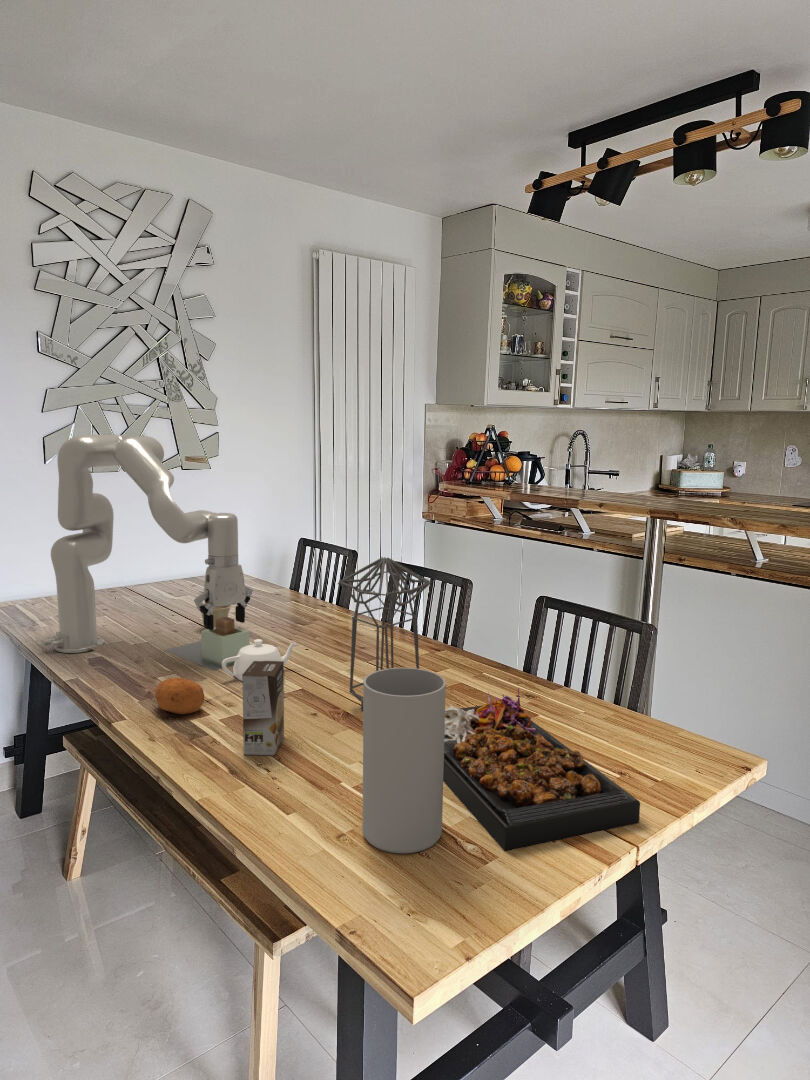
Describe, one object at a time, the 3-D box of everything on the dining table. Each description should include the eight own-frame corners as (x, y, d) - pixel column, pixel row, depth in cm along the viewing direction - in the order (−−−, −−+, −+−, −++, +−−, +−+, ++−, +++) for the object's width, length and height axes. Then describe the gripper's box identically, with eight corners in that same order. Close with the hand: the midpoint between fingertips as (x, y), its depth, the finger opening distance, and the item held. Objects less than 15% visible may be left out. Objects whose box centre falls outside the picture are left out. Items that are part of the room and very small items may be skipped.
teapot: (285, 665, 195) (285, 627, 193) (308, 678, 185) (308, 639, 183) (212, 679, 183) (211, 639, 182) (232, 694, 173) (231, 653, 172)
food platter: (401, 736, 154) (402, 688, 152) (506, 721, 162) (508, 676, 161) (504, 855, 112) (507, 791, 110) (638, 826, 121) (642, 767, 119)
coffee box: (275, 756, 142) (274, 676, 140) (242, 755, 142) (241, 675, 140) (285, 736, 151) (284, 660, 149) (253, 735, 152) (252, 659, 149)
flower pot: (236, 629, 226) (235, 602, 225) (225, 638, 217) (224, 610, 215) (206, 628, 227) (205, 601, 226) (194, 637, 218) (193, 608, 216)
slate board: (214, 674, 187) (214, 670, 187) (163, 653, 202) (163, 649, 202) (259, 661, 197) (259, 657, 197) (207, 642, 213) (207, 639, 213)
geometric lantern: (433, 710, 166) (435, 558, 159) (381, 732, 155) (382, 569, 148) (385, 690, 177) (386, 547, 170) (334, 709, 166) (332, 557, 159)
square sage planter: (223, 667, 189) (222, 638, 188) (202, 659, 195) (201, 630, 194) (249, 659, 195) (249, 631, 194) (228, 652, 201) (228, 624, 200)
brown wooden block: (225, 658, 193) (224, 621, 191) (216, 655, 195) (215, 618, 194) (235, 656, 195) (234, 619, 193) (226, 653, 197) (225, 616, 196)
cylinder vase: (349, 845, 113) (349, 689, 109) (380, 806, 124) (382, 663, 120) (426, 863, 109) (430, 701, 104) (451, 821, 120) (456, 674, 116)
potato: (169, 723, 156) (168, 690, 155) (147, 708, 165) (145, 675, 163) (209, 712, 163) (208, 680, 161) (186, 698, 171) (185, 667, 170)
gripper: (202, 567, 182) (204, 635, 185) (259, 558, 195) (260, 621, 198) (185, 563, 187) (187, 629, 190) (242, 555, 200) (243, 616, 202)
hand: (224, 625), depth 194 cm, fingers open, 9 cm apart
